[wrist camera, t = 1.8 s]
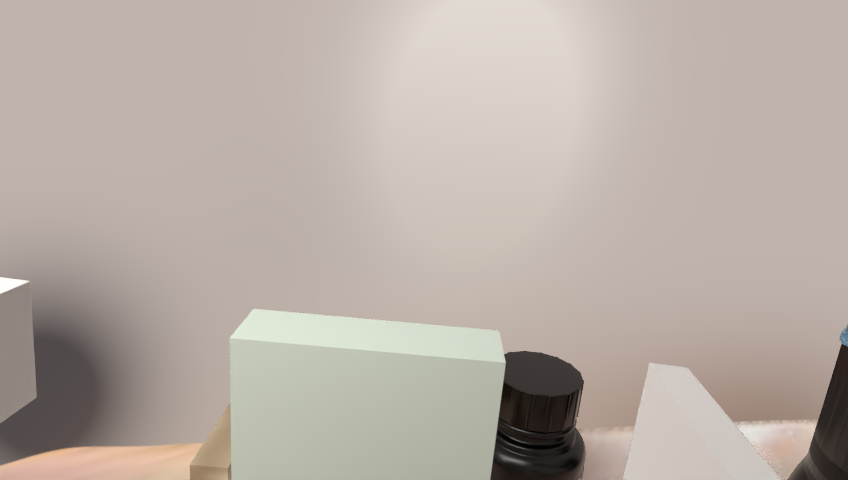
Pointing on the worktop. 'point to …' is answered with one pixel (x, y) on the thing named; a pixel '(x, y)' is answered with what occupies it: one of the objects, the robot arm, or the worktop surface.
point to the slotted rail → (215, 453)
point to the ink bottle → (538, 420)
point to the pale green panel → (362, 399)
